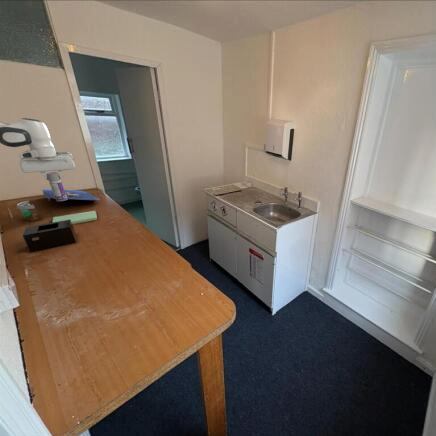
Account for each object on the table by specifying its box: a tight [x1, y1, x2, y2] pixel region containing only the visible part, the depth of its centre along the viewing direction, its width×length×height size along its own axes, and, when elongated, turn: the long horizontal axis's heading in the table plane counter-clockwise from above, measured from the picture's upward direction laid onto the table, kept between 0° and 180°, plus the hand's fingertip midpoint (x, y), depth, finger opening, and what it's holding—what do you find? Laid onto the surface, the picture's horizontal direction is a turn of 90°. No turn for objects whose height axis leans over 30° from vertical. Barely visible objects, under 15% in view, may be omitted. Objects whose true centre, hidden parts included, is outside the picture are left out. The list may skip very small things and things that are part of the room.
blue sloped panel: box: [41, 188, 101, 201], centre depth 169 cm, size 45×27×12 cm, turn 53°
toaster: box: [22, 220, 77, 253], centre depth 114 cm, size 16×12×9 cm
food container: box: [16, 200, 40, 222], centre depth 138 cm, size 12×6×10 cm, turn 55°
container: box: [46, 171, 68, 202], centre depth 126 cm, size 5×5×15 cm
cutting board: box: [51, 210, 98, 225], centre depth 142 cm, size 20×14×2 cm
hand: (54, 179), depth 124 cm, fingers closed on container, 3 cm apart
